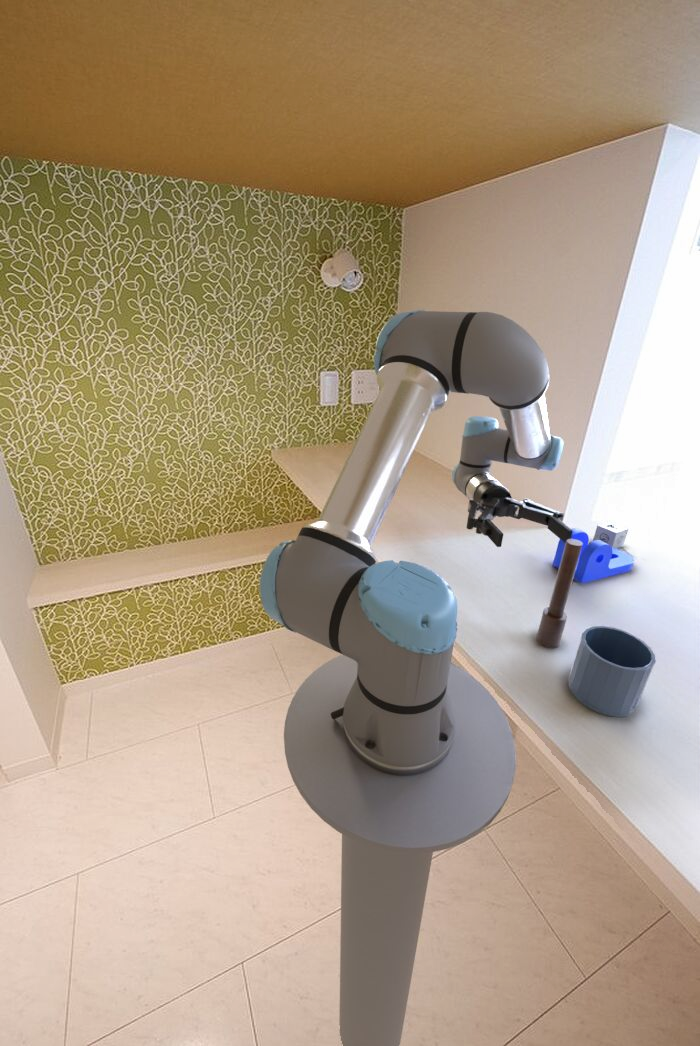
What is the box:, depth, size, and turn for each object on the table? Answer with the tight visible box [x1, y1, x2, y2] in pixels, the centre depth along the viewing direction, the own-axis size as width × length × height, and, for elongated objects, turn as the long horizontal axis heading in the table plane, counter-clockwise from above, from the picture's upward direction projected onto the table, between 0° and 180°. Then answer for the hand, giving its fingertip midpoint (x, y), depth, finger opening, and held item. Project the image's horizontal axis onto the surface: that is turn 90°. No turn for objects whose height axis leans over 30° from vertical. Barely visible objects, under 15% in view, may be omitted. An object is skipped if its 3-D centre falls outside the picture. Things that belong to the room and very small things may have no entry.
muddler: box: [536, 539, 583, 649], centre depth 73 cm, size 4×4×20 cm
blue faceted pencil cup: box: [567, 625, 657, 718], centre depth 65 cm, size 9×9×9 cm
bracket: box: [552, 527, 635, 584], centre depth 99 cm, size 18×8×9 cm, turn 111°
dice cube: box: [592, 520, 629, 549], centre depth 110 cm, size 5×5×5 cm
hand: (535, 538), depth 81 cm, fingers open, 13 cm apart
